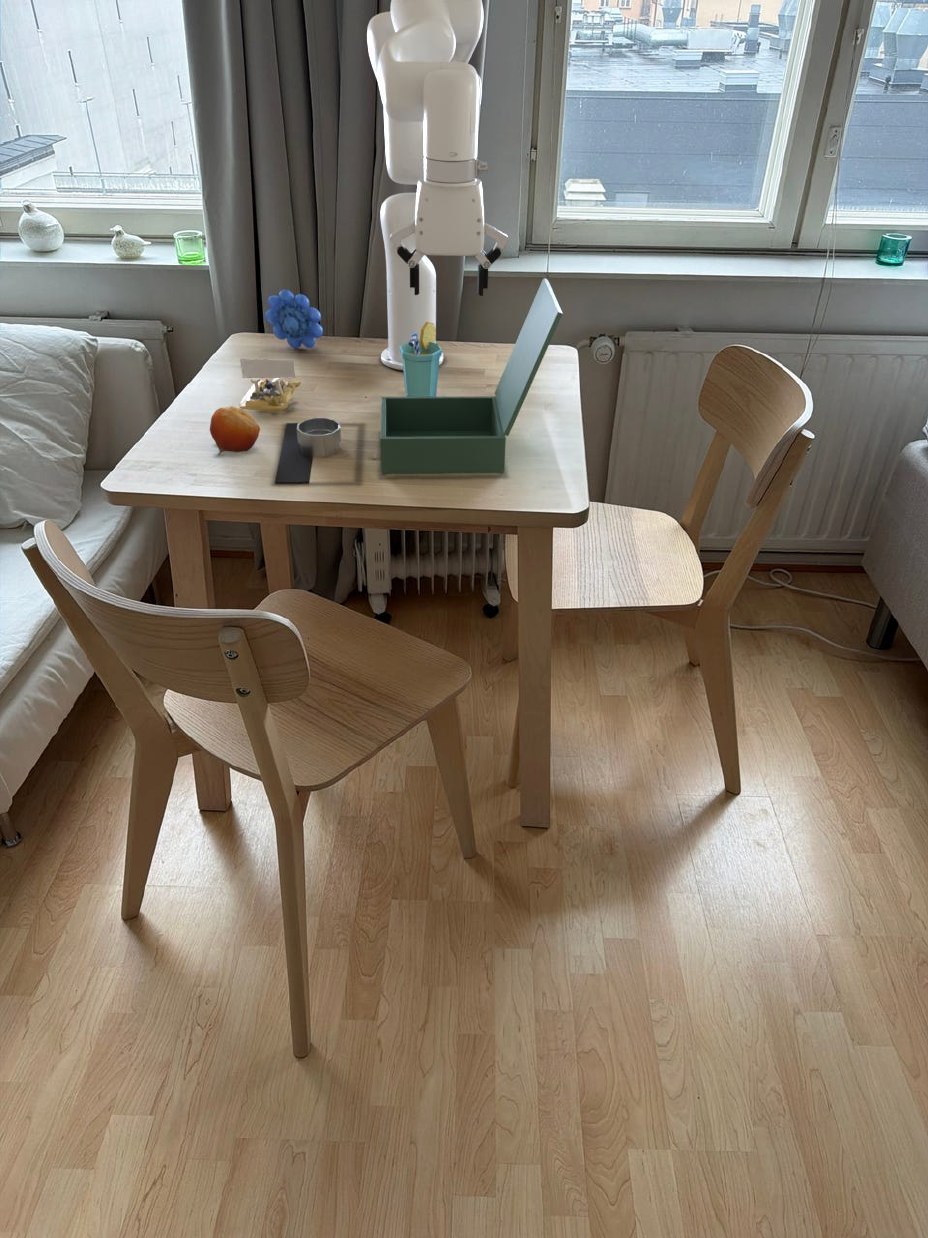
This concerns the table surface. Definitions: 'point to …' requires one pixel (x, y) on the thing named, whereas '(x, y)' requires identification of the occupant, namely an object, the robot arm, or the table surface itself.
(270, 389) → the cake
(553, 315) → the lid
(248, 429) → the fruit
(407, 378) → the cup
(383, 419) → the open green box
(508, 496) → the table surface
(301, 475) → the mat
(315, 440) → the bowl
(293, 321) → the blue flower
